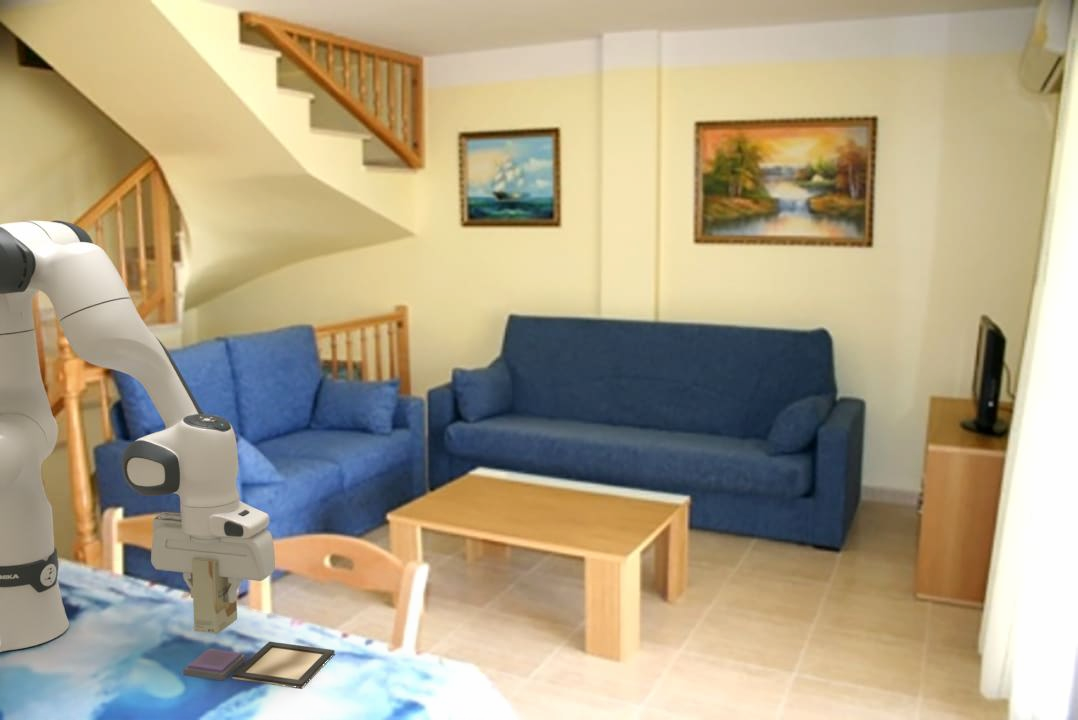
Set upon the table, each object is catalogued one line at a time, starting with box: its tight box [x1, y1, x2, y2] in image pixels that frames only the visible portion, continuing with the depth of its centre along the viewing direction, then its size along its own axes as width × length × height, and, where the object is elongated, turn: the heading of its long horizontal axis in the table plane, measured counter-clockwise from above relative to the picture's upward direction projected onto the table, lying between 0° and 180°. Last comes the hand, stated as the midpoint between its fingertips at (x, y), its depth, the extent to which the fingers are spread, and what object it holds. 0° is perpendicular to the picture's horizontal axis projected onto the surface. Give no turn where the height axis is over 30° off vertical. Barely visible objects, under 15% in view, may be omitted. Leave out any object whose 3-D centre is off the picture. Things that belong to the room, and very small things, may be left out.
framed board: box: [231, 641, 335, 688], centre depth 154 cm, size 12×12×1 cm
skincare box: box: [192, 557, 238, 635], centre depth 151 cm, size 6×4×12 cm
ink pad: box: [182, 648, 247, 682], centre depth 153 cm, size 7×7×2 cm
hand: (214, 599), depth 151 cm, fingers closed on skincare box, 4 cm apart
